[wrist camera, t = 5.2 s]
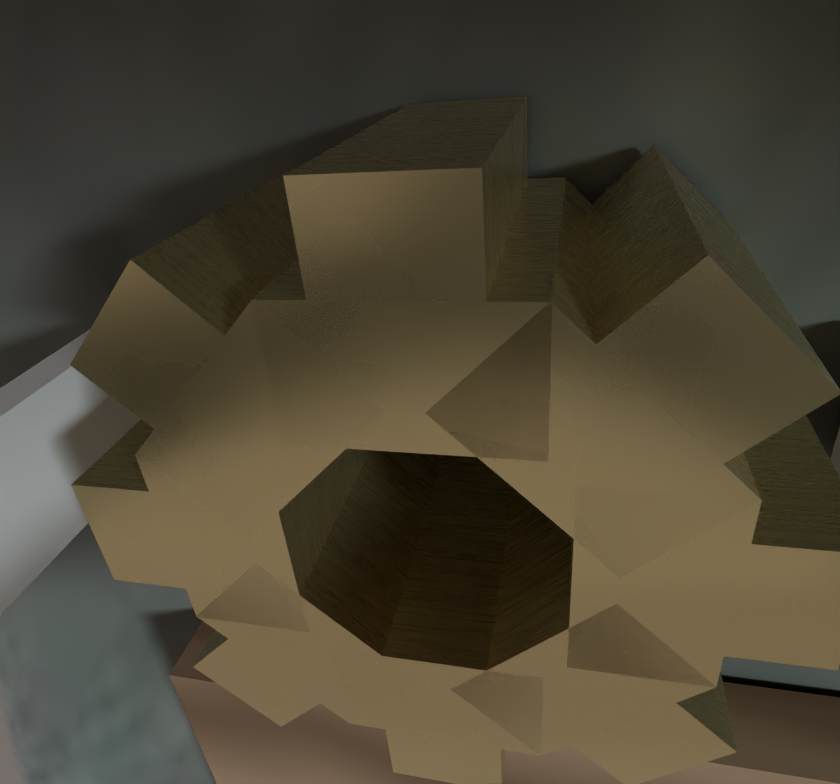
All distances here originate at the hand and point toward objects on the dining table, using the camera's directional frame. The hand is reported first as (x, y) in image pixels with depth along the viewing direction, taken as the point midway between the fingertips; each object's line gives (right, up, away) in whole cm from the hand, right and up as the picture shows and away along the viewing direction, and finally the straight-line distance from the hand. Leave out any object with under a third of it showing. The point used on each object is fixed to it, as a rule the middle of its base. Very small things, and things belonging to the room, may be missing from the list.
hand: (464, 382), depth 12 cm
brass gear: (0, 0, 0) cm, 0 cm away
